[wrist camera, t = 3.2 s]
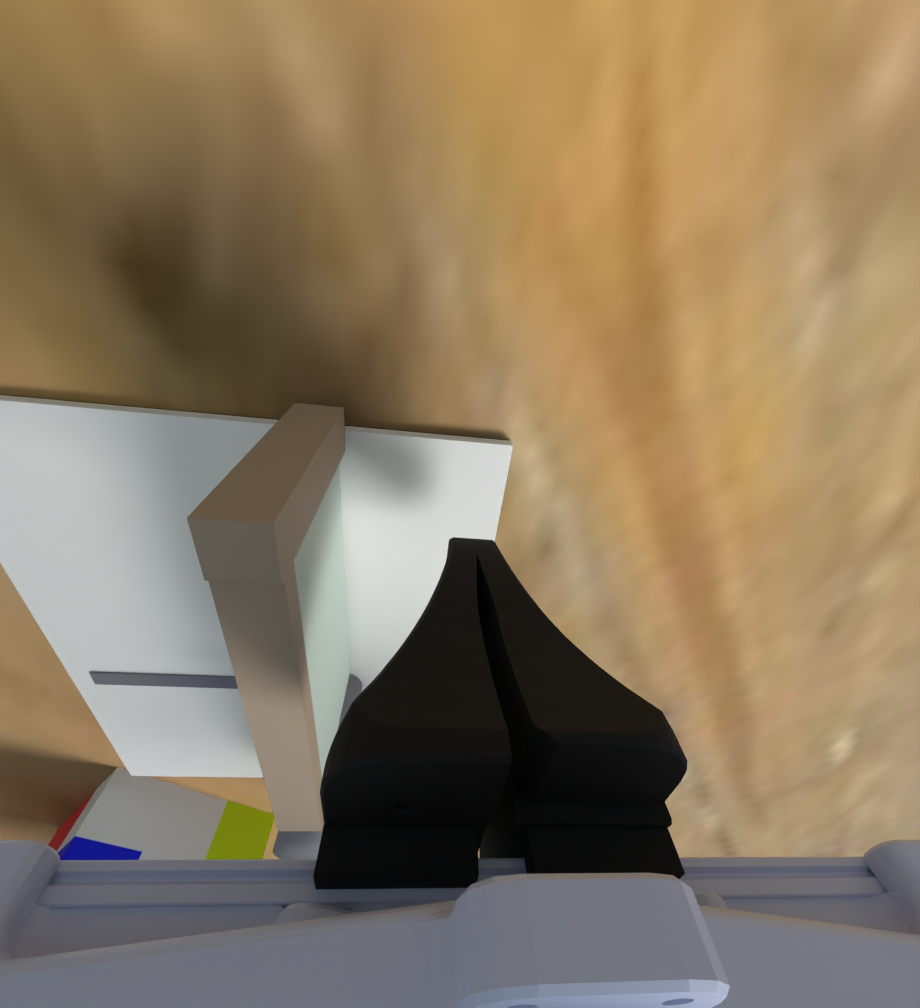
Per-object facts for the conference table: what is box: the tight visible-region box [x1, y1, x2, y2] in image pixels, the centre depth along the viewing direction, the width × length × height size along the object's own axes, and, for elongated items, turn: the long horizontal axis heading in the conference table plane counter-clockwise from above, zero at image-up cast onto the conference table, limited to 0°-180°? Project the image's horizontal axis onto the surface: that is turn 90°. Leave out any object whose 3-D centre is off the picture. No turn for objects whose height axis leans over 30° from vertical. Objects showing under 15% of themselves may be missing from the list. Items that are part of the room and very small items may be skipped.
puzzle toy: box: [48, 767, 274, 860], centre depth 23 cm, size 10×10×10 cm
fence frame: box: [273, 673, 362, 859], centre depth 19 cm, size 2×10×7 cm, turn 174°
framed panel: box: [187, 403, 349, 831], centre depth 13 cm, size 12×1×6 cm, turn 174°
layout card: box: [0, 395, 513, 777], centre depth 18 cm, size 18×22×1 cm
